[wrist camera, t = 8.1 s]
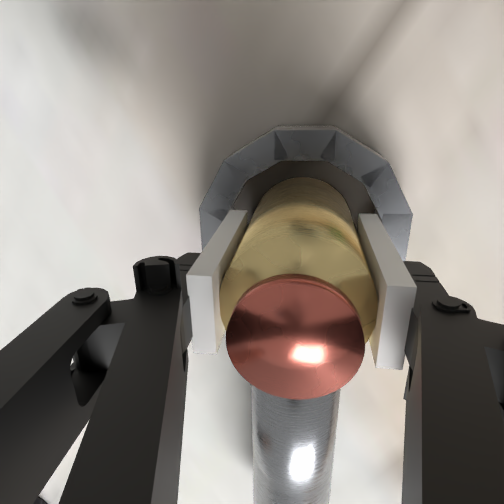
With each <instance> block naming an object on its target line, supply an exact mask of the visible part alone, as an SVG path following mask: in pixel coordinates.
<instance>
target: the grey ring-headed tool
mask: <svg viewBox="0 0 504 504" xmlns="http://www.w3.org/2000/svg"><path fill="white" fill-rule="evenodd" d="M282 160H292V161H327V162H329V163H331V164H332V165H334V166H336V167H337V168H339V169H341V170H342V171H344V172H346V173H347V174H349V175H350V176H352V177H354V178H355V179H357V180H359V181H360V182H362V183H363V184H364V186H365V188H366V190H367V192H368V194H369V196H370V198H371V200H372V202H373V204H374V206H375V211H374V214H377V215H378V217H379V219H380V220H381V222H382V224H383V226H384V228H385V230H386V231H387V233H388V235H389V237H390V239H391V241H392V242H393V244H394V246H395V248H396V250H397V252H398V253H399V255H400V257H401V259H402V261H405V260H406V254H407V247H408V241H409V235H410V229H411V222H412V216H413V214H412V212H411V209H410V207H409V205H408V203H407V201H406V199H405V196H404V194H403V192H402V190H401V188H400V186H399V184H398V181H397V179H396V177H395V175H394V173H393V171H392V168H391V166H390V164H389V162H388V161H387V160H386V159H385V158H384V157H383V156H382V155H380V154H379V153H377V152H376V151H374V150H372V149H371V148H369V147H368V146H366V145H364V144H363V143H361V142H359V141H358V140H356V139H355V138H353V137H351V136H350V135H348V134H346V133H345V132H343V131H342V130H340V129H338V128H337V127H335V126H277V127H276V128H274V129H272V130H271V131H269V132H267V133H266V134H264V135H262V136H261V137H259V138H257V139H256V140H254V141H252V142H251V143H249V144H247V145H246V146H244V147H242V148H241V149H239V150H238V151H236V152H234V153H233V154H231V155H230V156H229V157H228V158H227V159H225V160H224V161H223V163H222V165H221V167H220V169H219V171H218V173H217V175H216V177H215V179H214V181H213V183H212V185H211V187H210V189H209V190H208V192H207V194H206V196H205V198H204V200H203V202H202V204H201V206H200V208H199V211H200V225H201V239H202V251H203V249H204V248H205V246H206V245H207V243H208V242H209V241H210V239H211V238H212V236H213V235H214V233H215V232H216V230H217V229H218V227H219V226H220V224H221V223H222V221H223V220H224V219H225V217H226V216H227V214H228V213H229V211H230V210H234V203H235V201H236V199H237V197H238V195H239V194H240V192H241V190H242V188H243V186H244V185H245V183H246V181H247V180H248V179H250V178H252V177H254V176H255V175H257V174H259V173H261V172H262V171H264V170H266V169H268V168H269V167H271V166H273V165H275V164H276V163H278V162H280V161H282ZM251 393H252V444H253V496H254V504H329V498H330V488H331V478H332V468H333V458H334V448H335V438H336V427H337V417H338V407H339V397H340V389H338V390H336V391H334V392H332V393H330V394H327V395H325V396H321V397H318V398H312V399H301V400H299V399H287V398H281V397H277V396H274V395H271V394H268V393H266V392H264V391H262V390H260V389H258V388H256V387H255V386H253V385H252V384H251Z"/></svg>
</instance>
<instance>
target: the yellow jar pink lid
mask: <svg viewBox="0 0 504 504" xmlns="http://www.w3.org/2000/svg"><path fill="white" fill-rule="evenodd" d="M219 303H220V316H221V320H222V323H223V325H224V327H225V330H226V346H227V351H228V354H229V357H230V359H231V361H232V363H233V365H234V367H235V368H236V369H237V371H238V372H239V373H240V374H241V375H242V376H243V377H244V378H245V379H246V380H247V381H248V382H249V383H250V384H252V385H253V386H255V387H256V388H258V389H260V390H262V391H264V392H266V393H268V394H271V395H274V396H277V397H281V398H287V399H299V400H301V399H312V398H318V397H321V396H325V395H327V394H330V393H332V392H334V391H336V390H338V389H340V388H341V387H343V386H344V385H345V384H347V383H348V382H349V381H350V380H351V379H352V378H353V376H354V375H355V374H356V373H357V371H358V369H359V368H360V366H361V363H362V361H363V357H364V353H365V344H366V342H367V341H368V339H369V338H370V336H371V334H372V332H373V330H374V327H375V325H376V319H377V311H378V298H377V293H376V289H375V286H374V283H373V280H372V277H371V274H370V271H369V268H368V265H367V262H366V259H365V256H364V253H363V250H362V246H361V243H360V240H359V237H358V234H357V231H356V228H355V225H354V222H353V219H352V216H351V213H350V210H349V208H348V205H347V203H346V201H345V200H344V198H343V197H342V195H341V194H340V193H339V192H338V191H337V190H336V189H335V188H333V187H332V186H331V185H329V184H327V183H325V182H324V181H321V180H318V179H314V178H308V177H297V178H291V179H288V180H284V181H282V182H280V183H278V184H276V185H275V186H273V187H272V188H271V189H270V190H268V191H267V192H266V194H265V195H264V196H263V197H262V199H261V200H260V202H259V204H258V206H257V208H256V210H255V212H254V214H253V216H252V219H251V221H250V223H249V225H248V227H247V229H246V231H245V233H244V236H243V238H242V240H241V242H240V244H239V246H238V248H237V251H236V253H235V255H234V257H233V259H232V261H231V263H230V265H229V268H228V270H227V272H226V274H225V276H224V278H223V281H222V284H221V287H220V293H219Z"/></svg>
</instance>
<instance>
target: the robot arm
mask: <svg viewBox="0 0 504 504" xmlns="http://www.w3.org/2000/svg"><path fill="white" fill-rule="evenodd" d="M247 227H248V224H247V210H230V211H229V213H228V214H227V216H226V217H225V219H224V220H223V221H222V223H221V224H220V226H219V227H218V229H217V230H216V232H215V233H214V235H213V236H212V238H211V239H210V241H209V242H208V243H207V245H206V246H205V248H204V249H203V251H202V252H201V253H186V254H184V255H183V256H181V257H179V258H178V259H175V258H173V257H169V256H155V257H149V258H145V259H142V260H140V261H138V262H136V263H135V264H134V265H133V271H134V277H135V284H136V291H137V292H136V294H135V297H134V299H129V300H121V301H112V302H110V298H109V294H108V291H106V290H104V289H101V288H84V289H83V288H82V289H79V290H77V291H75V292H72V293H70V294H68V295H67V296H65V297H63V298H62V299H61V300H60V301H59V302H58V303H56V304H55V305H54V306H53V307H52V308H50V309H49V310H48V311H47V312H46V313H44V314H43V315H42V316H41V317H40V318H38V319H37V320H36V321H35V322H34V323H33V324H31V325H30V326H29V327H28V328H27V329H25V330H24V331H23V332H22V333H21V334H19V335H18V336H17V337H16V338H15V339H13V340H12V341H11V342H10V343H9V344H8V345H6V346H5V347H4V348H3V349H2V350H0V504H33V503H34V501H35V500H36V498H37V497H38V495H39V494H40V492H41V491H42V489H43V488H44V486H45V485H46V483H47V482H48V480H49V479H50V477H51V476H52V474H53V473H54V471H55V470H56V468H57V467H58V465H59V464H60V462H61V461H62V459H63V458H64V457H65V455H66V454H67V452H68V451H69V449H70V448H71V446H72V445H73V443H74V442H75V440H76V439H77V437H78V436H79V434H80V433H81V431H82V430H83V428H84V427H85V425H86V424H87V422H88V421H89V423H88V425H87V428H86V431H85V433H84V436H83V439H82V442H81V444H80V447H79V450H78V452H77V455H76V458H75V461H74V463H73V466H72V469H71V472H70V474H69V477H68V480H67V482H66V485H65V488H64V491H63V493H62V496H61V499H60V502H59V504H177V499H178V486H179V474H180V461H181V448H182V435H183V423H184V410H185V397H186V385H187V372H188V350H187V347H188V345H189V343H190V341H191V339H192V347H193V353H201V354H214V355H217V352H218V349H219V346H220V344H221V341H222V338H223V335H224V333H225V327H224V325H223V323H222V320H221V316H220V303H219V293H220V287H221V284H222V281H223V278H224V276H225V274H226V272H227V270H228V268H229V265H230V263H231V261H232V259H233V257H234V255H235V253H236V251H237V248H238V246H239V244H240V242H241V240H242V238H243V236H244V233H245V231H246V229H247ZM357 234H358V237H359V240H360V243H361V246H362V250H363V253H364V256H365V259H366V262H367V265H368V268H369V271H370V274H371V277H372V280H373V283H374V286H375V289H376V293H377V298H378V311H377V319H376V325H375V327H374V330H373V332H372V334H371V336H370V338H369V342H370V346H371V350H372V354H373V358H374V363H375V367H376V368H386V369H399V370H403V364H404V358H405V354H406V357H407V360H408V362H409V371H408V376H407V382H406V387H405V393H404V398H403V399H405V400H406V415H405V438H404V461H403V483H402V504H504V325H502V324H498V323H493V322H489V321H485V320H481V319H478V318H477V316H476V312H475V310H474V308H473V307H472V306H471V305H470V304H468V303H467V302H465V301H463V300H460V299H458V298H455V297H451V296H449V295H448V293H447V292H446V291H445V289H444V288H443V286H442V285H441V283H439V280H438V279H437V277H435V274H434V273H433V271H432V270H431V268H429V267H427V266H426V265H424V264H423V263H421V262H412V261H402V259H401V257H400V255H399V253H398V252H397V250H396V248H395V246H394V244H393V242H392V241H391V239H390V237H389V235H388V233H387V231H386V230H385V228H384V226H383V224H382V222H381V220H380V219H379V217H378V215H377V214H358V224H357ZM72 358H73V361H74V362H73V363H72V365H71V361H72ZM70 365H71V366H70ZM89 419H90V420H89Z"/></svg>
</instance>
